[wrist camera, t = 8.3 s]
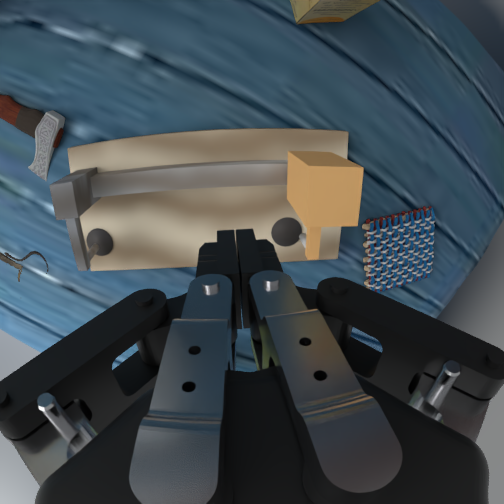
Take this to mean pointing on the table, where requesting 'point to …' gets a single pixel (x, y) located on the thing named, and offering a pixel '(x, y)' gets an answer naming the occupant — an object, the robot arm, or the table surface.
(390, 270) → the woven mat
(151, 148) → the board
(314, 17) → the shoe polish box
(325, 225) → the block
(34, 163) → the hand axe
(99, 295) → the table surface
